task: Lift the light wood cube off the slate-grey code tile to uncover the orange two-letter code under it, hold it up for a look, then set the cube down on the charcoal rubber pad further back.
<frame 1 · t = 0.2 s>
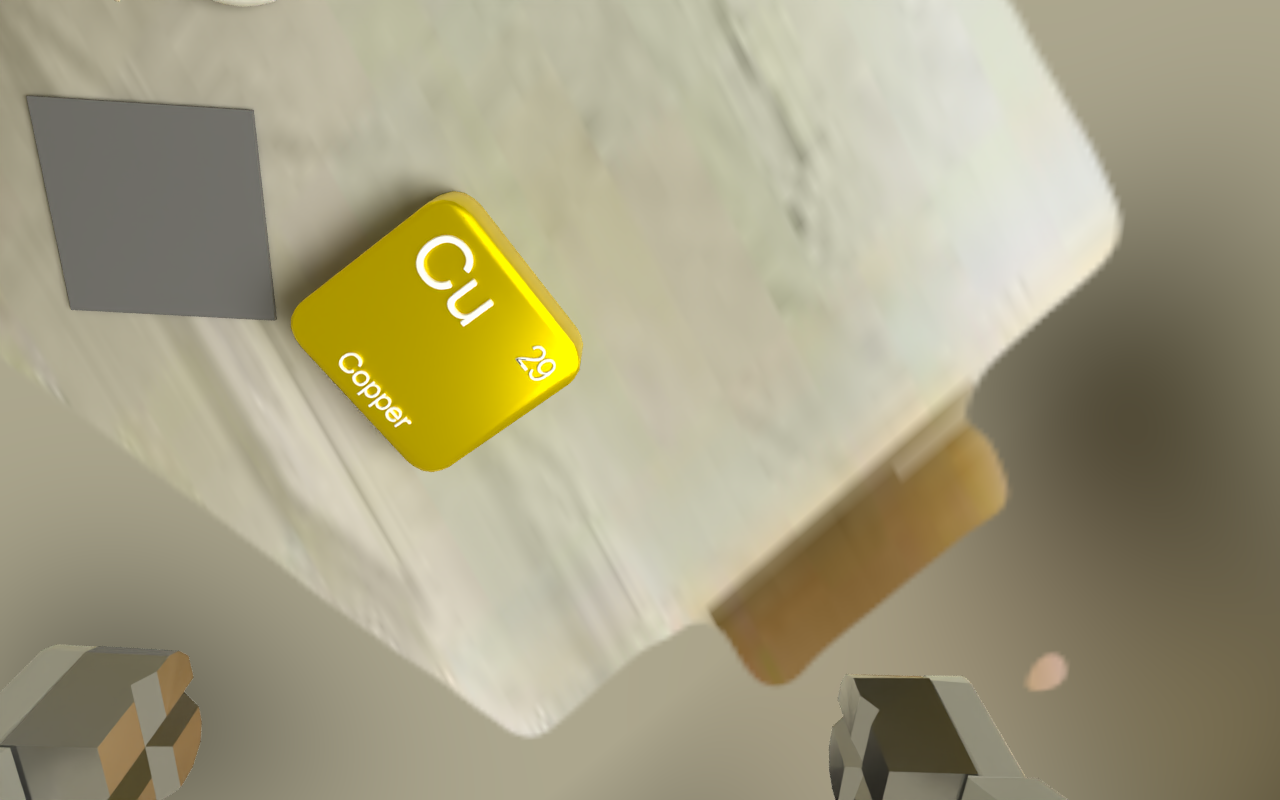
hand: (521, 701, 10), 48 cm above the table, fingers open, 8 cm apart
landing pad: (159, 213, 54), on the table
element tile: (449, 326, 58), on the table
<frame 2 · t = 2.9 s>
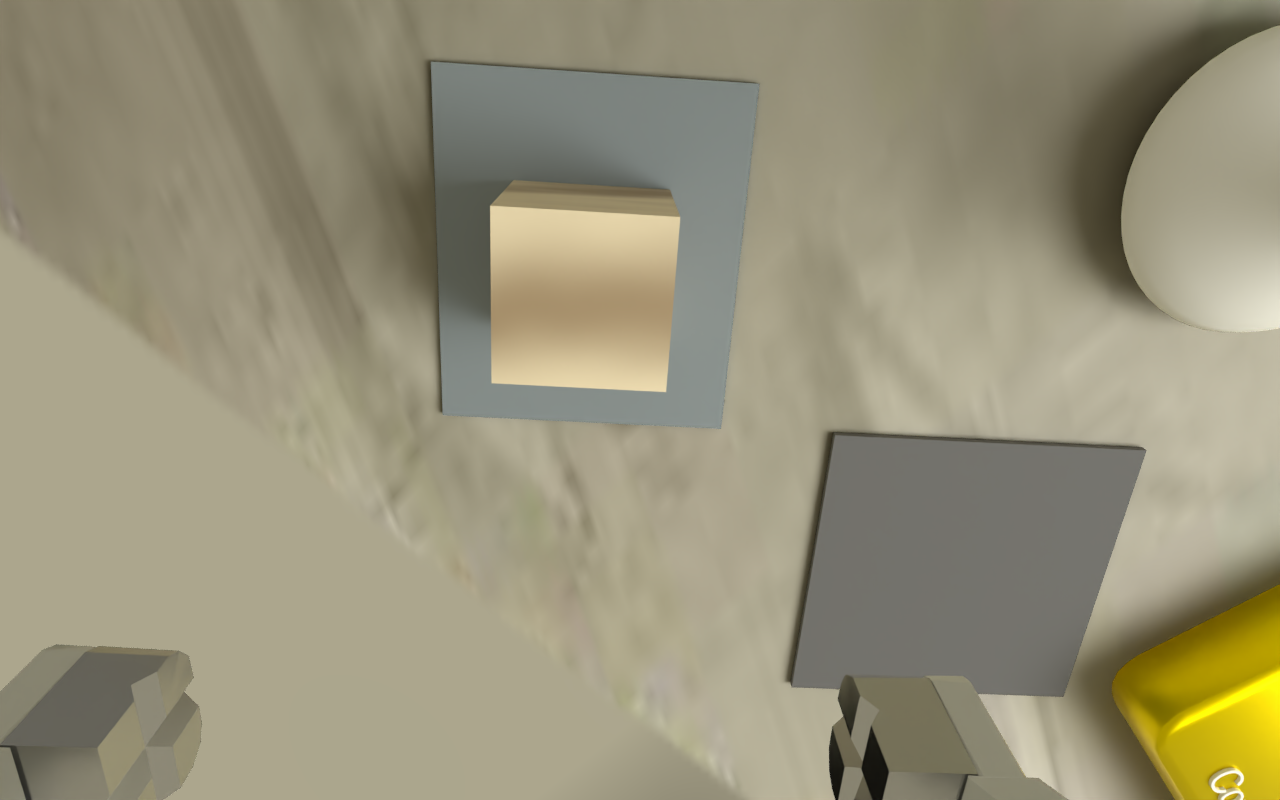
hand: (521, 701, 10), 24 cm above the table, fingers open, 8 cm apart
flower in vase: (1246, 197, 32), on the table
code tile: (589, 260, 32), on the table
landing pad: (955, 572, 39), on the table
light wood cube: (589, 262, 32), resting on code tile
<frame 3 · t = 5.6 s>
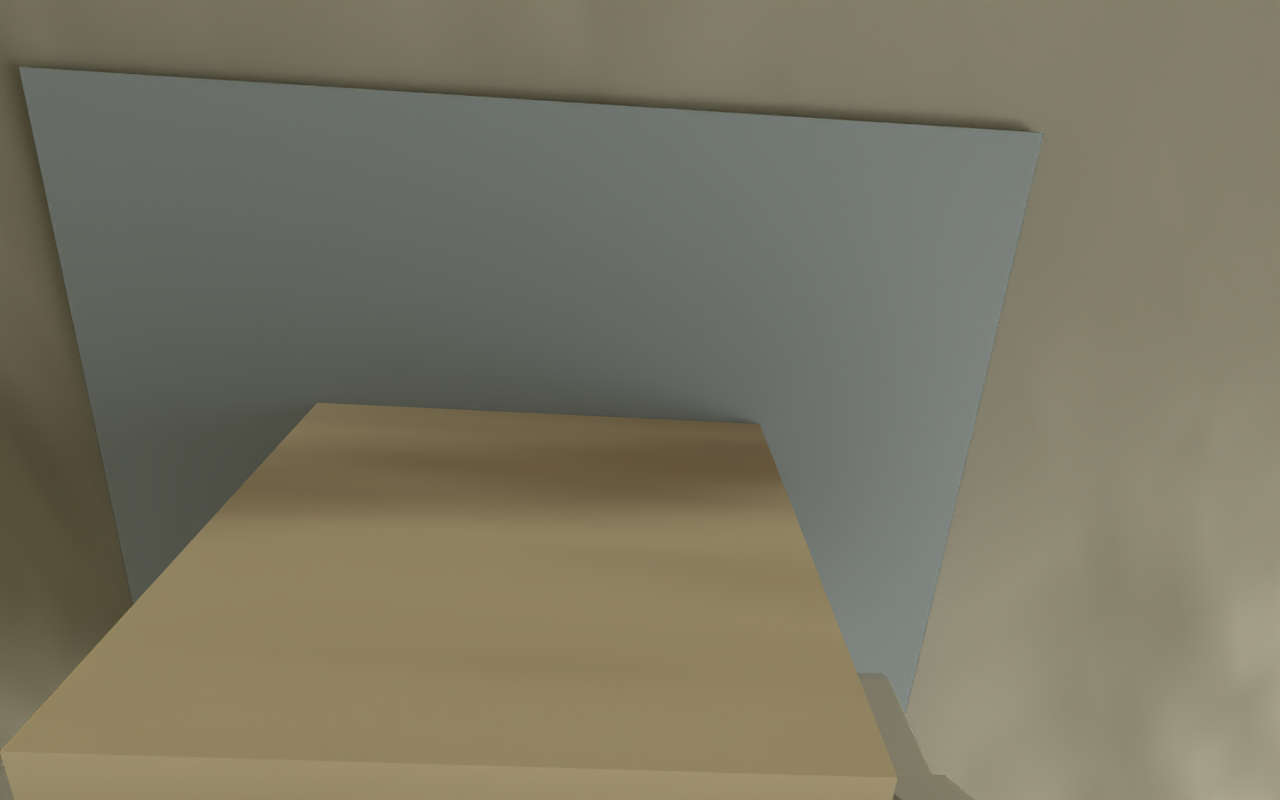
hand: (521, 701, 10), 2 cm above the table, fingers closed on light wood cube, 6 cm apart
code tile: (538, 588, 12), on the table
light wood cube: (538, 596, 12), resting on code tile, touching gripper
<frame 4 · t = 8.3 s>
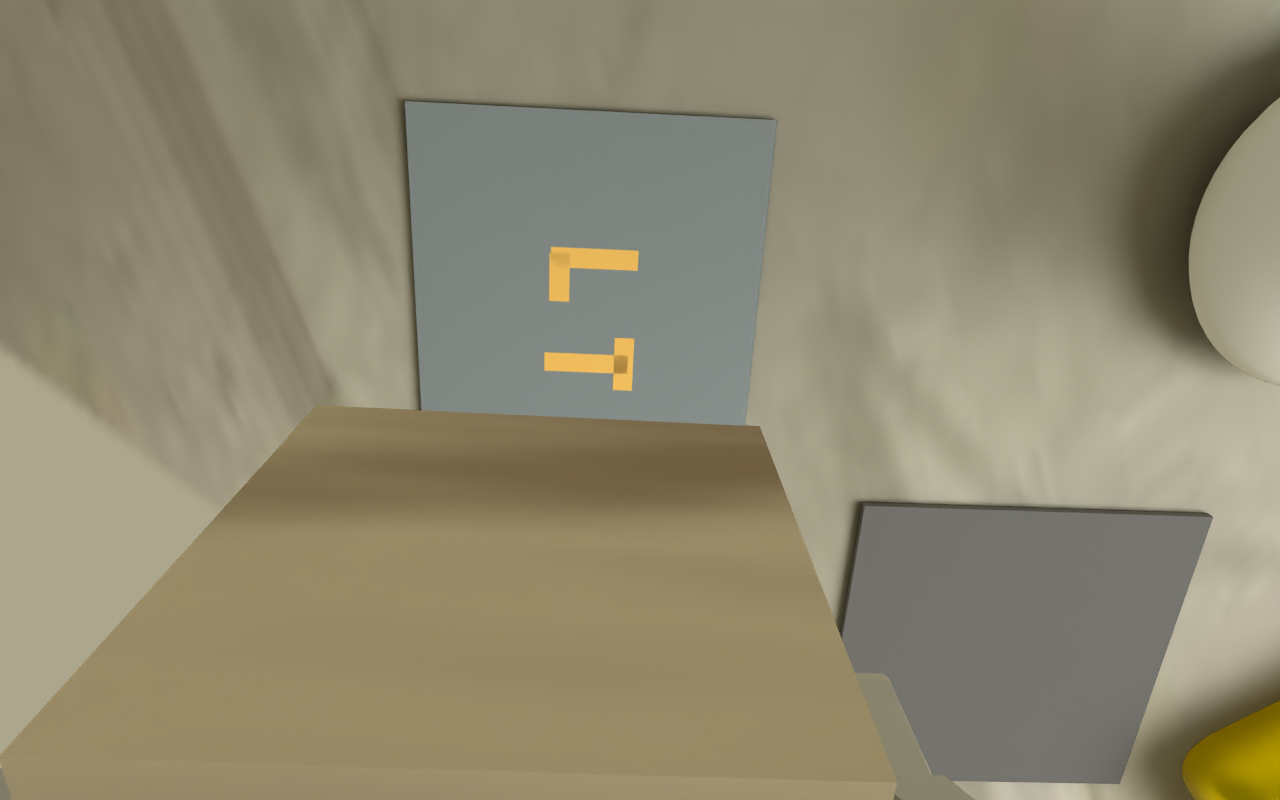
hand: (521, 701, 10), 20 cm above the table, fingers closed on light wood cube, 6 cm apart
code tile: (587, 318, 29), on the table
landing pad: (999, 651, 35), on the table
light wood cube: (537, 599, 12), point 18 cm above the table, touching gripper
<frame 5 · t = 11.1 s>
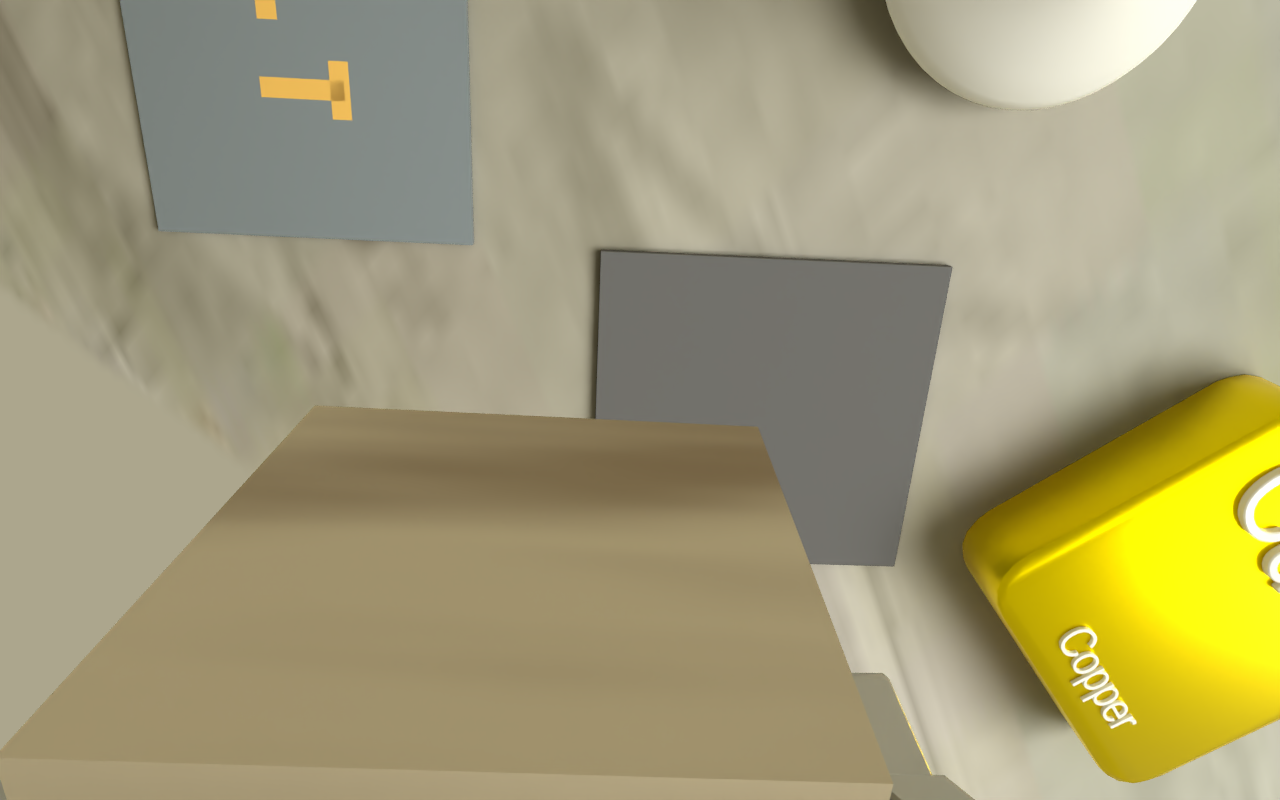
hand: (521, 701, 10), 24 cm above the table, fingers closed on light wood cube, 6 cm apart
code tile: (299, 41, 29), on the table
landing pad: (758, 419, 35), on the table
light wood cube: (536, 599, 12), point 22 cm above the table, touching gripper
element tile: (1152, 558, 39), on the table
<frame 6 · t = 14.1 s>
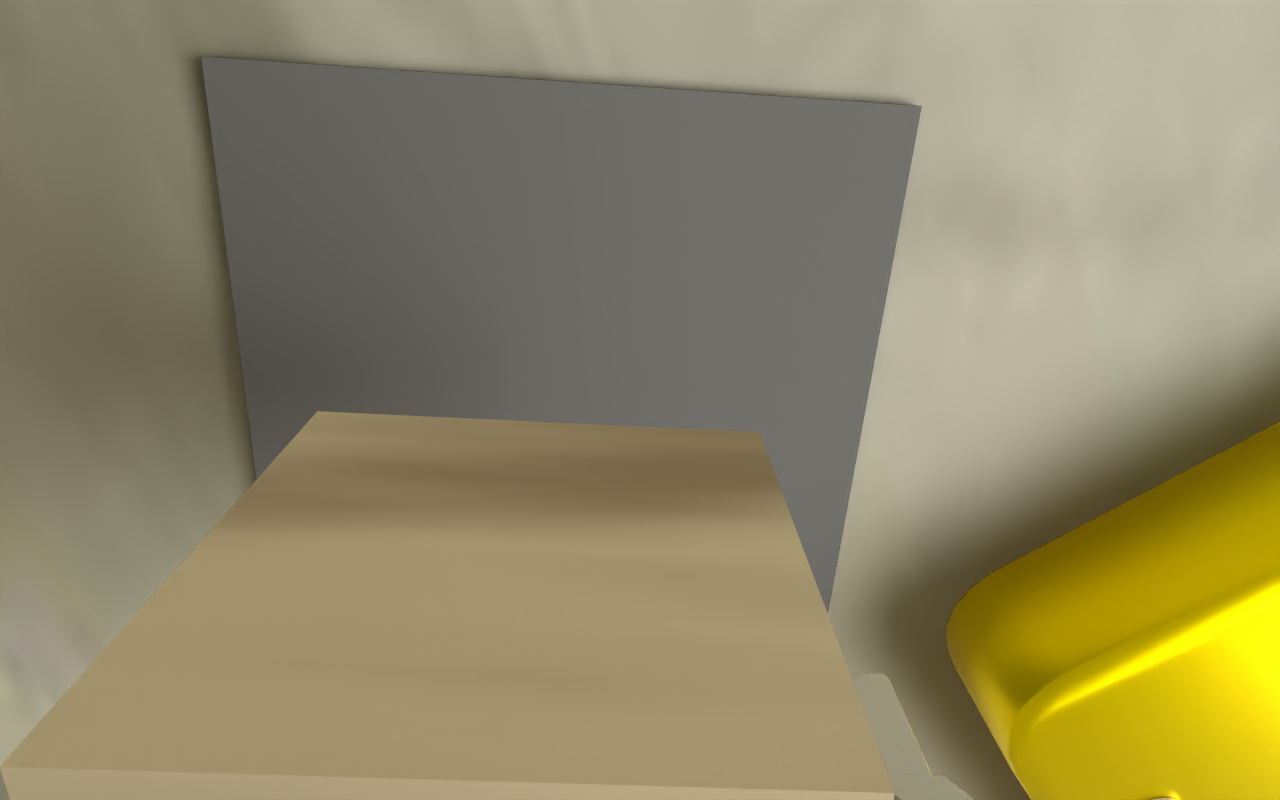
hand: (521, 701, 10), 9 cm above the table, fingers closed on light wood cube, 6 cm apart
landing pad: (559, 406, 19), on the table
light wood cube: (538, 604, 12), point 7 cm above the table, touching gripper
element tile: (1268, 652, 23), on the table
when the fingers open (4 cm above the table, at t = 16.6 s): light wood cube drops 1 cm, resting on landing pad.
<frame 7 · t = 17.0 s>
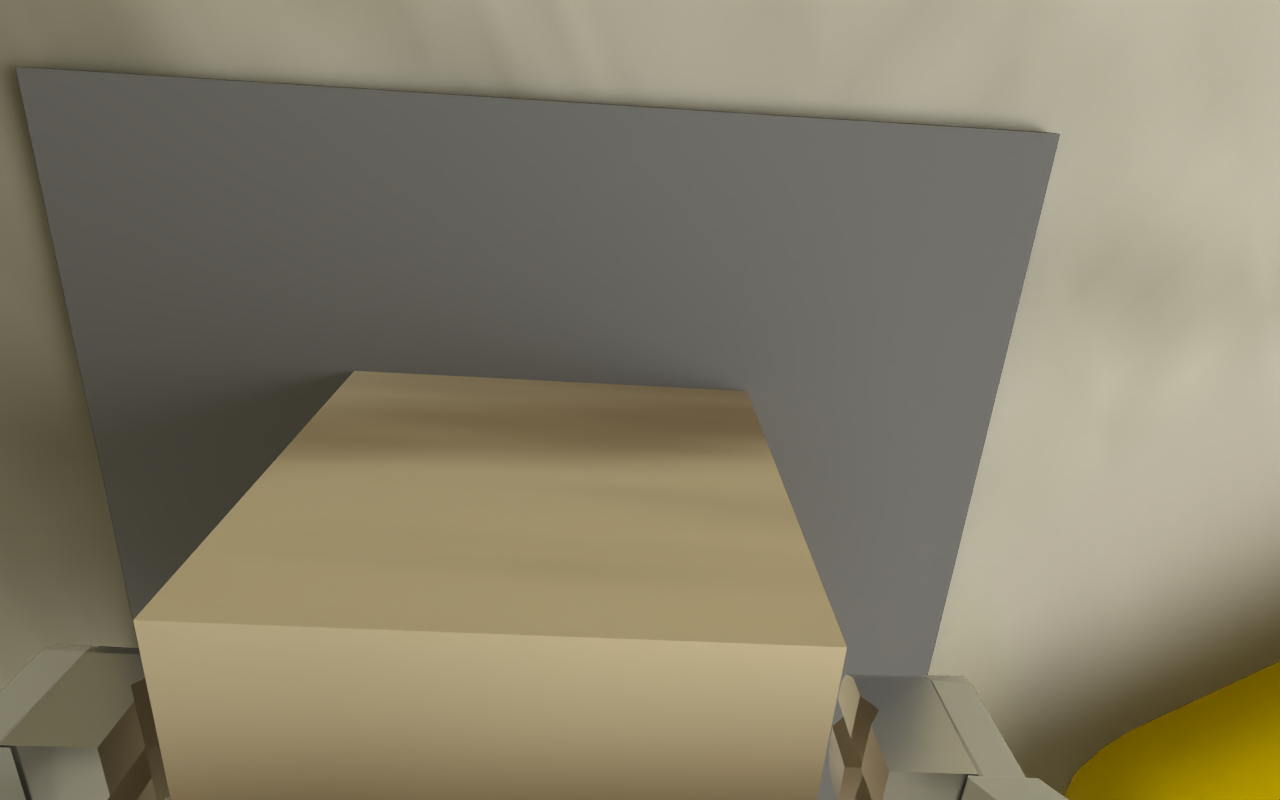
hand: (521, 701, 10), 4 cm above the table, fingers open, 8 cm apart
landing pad: (545, 537, 14), on the table
light wood cube: (548, 548, 14), resting on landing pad
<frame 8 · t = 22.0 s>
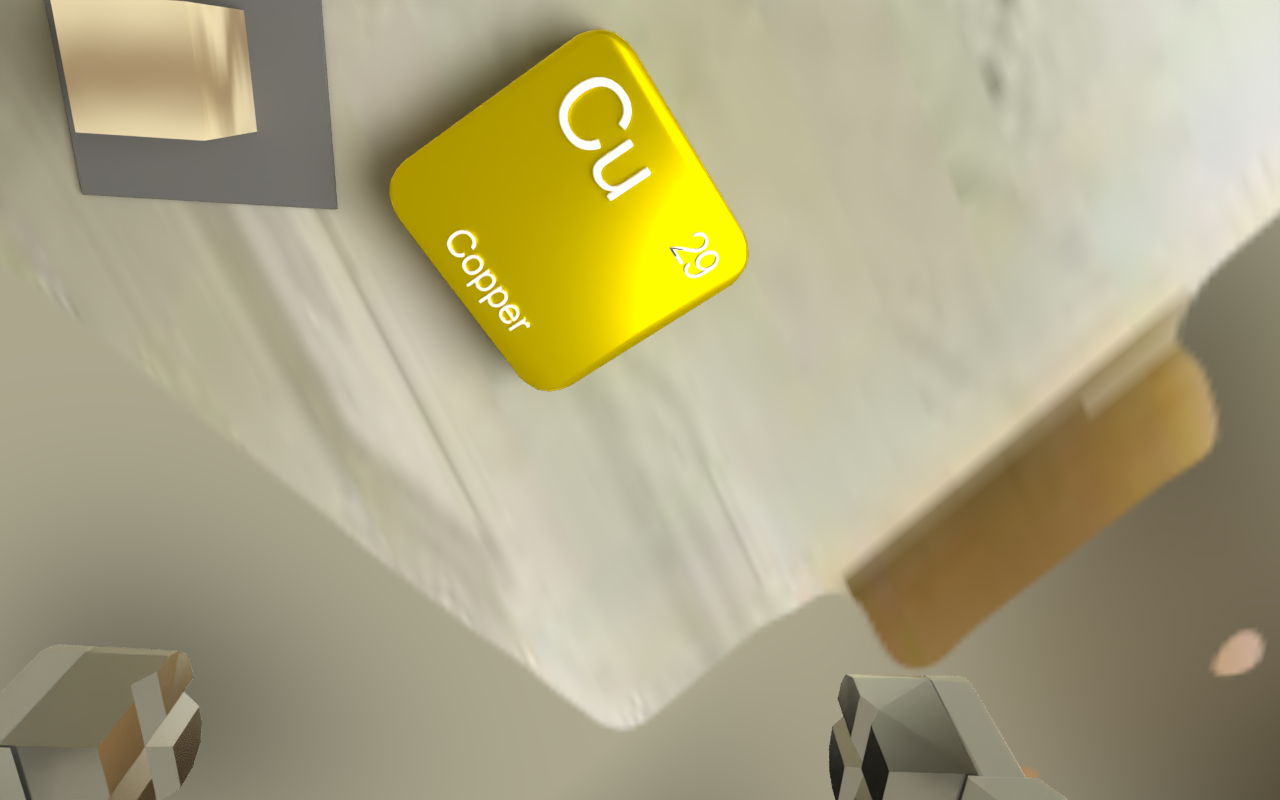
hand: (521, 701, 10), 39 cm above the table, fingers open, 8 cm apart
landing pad: (194, 67, 43), on the table
light wood cube: (193, 68, 43), resting on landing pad
element tile: (576, 212, 47), on the table
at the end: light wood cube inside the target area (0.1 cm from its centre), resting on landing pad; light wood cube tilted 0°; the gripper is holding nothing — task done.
